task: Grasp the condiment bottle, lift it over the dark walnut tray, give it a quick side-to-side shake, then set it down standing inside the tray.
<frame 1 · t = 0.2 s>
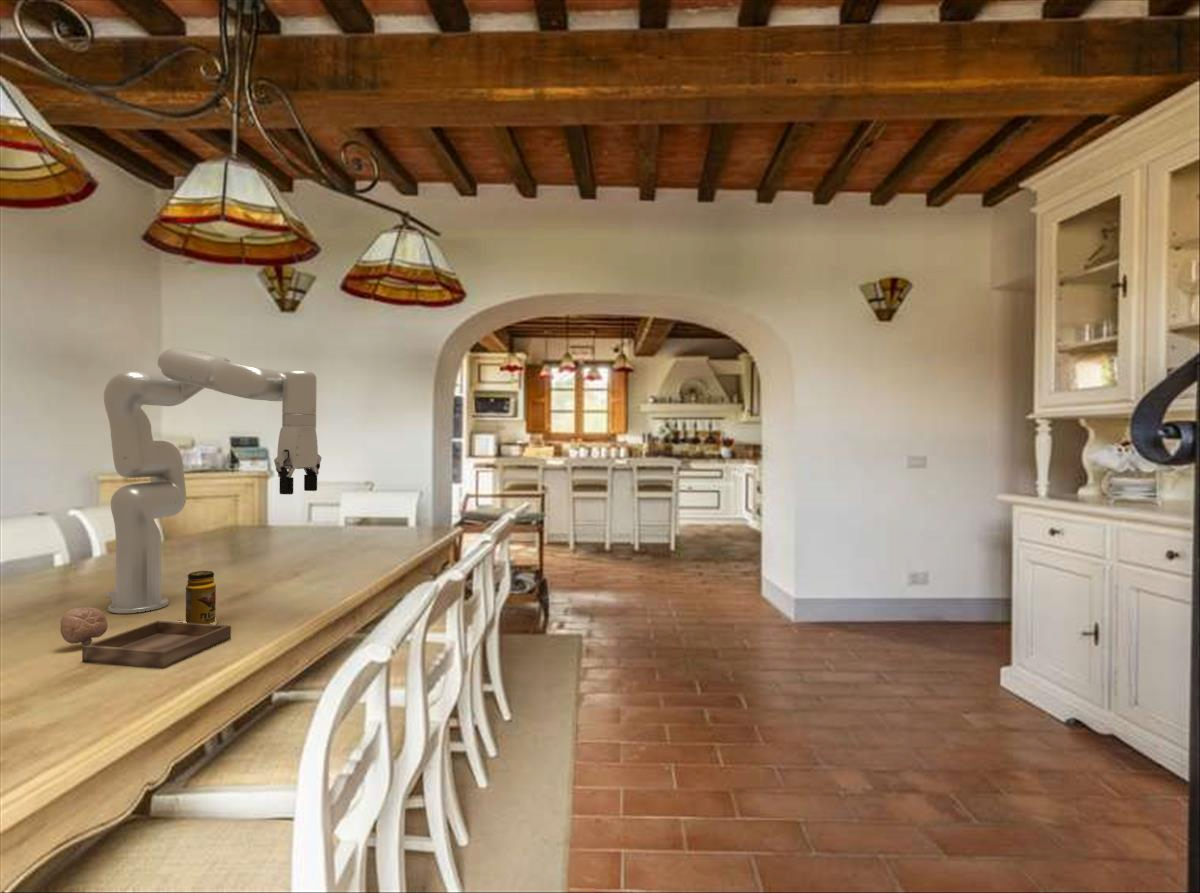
hand: (298, 492, 159), 31 cm above the table, tool pointing down, fingers open, 9 cm apart
tray: (160, 649, 136), on the table
mushroom: (84, 647, 137), on the table
condiment: (196, 624, 155), on the table
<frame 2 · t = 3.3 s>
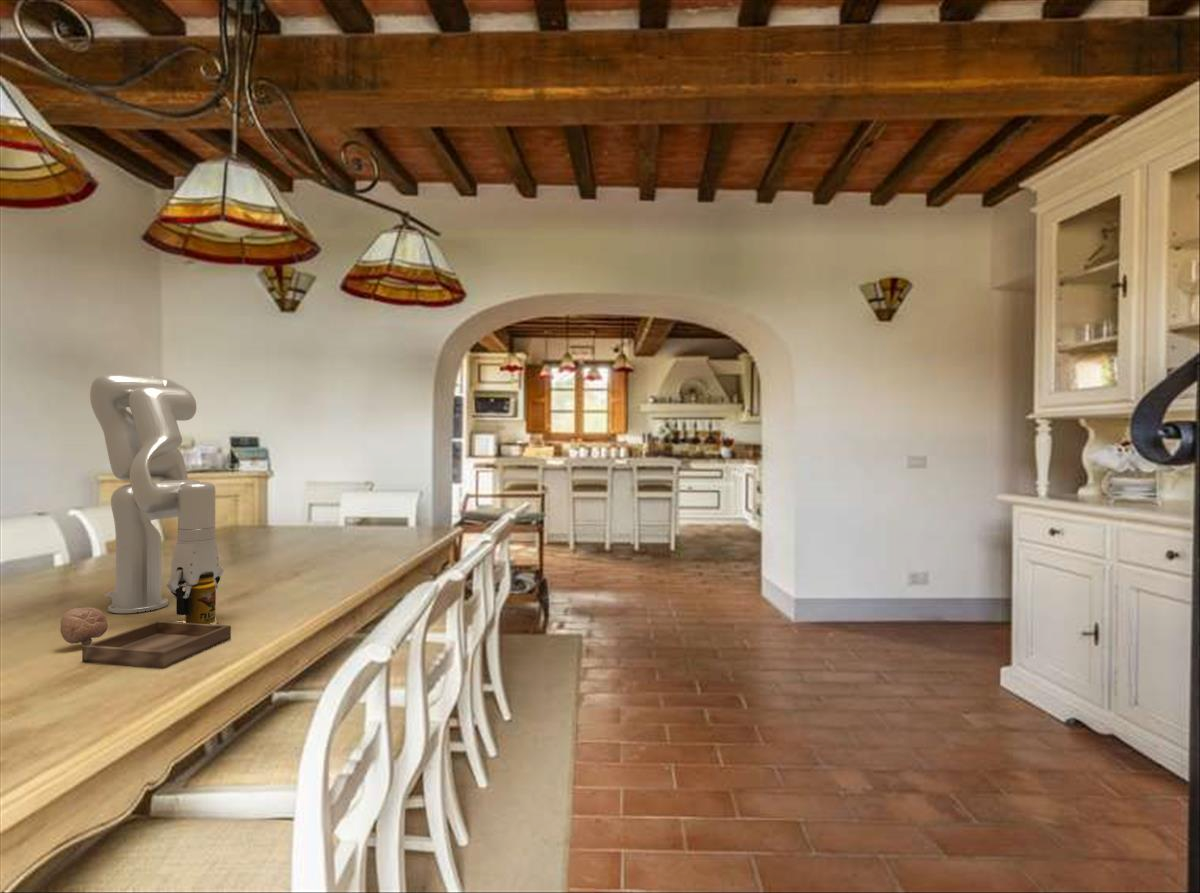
hand: (196, 609, 154), 3 cm above the table, tool pointing down, fingers open, 7 cm apart
condiment: (196, 624, 155), on the table, touching gripper
everything else where it was.
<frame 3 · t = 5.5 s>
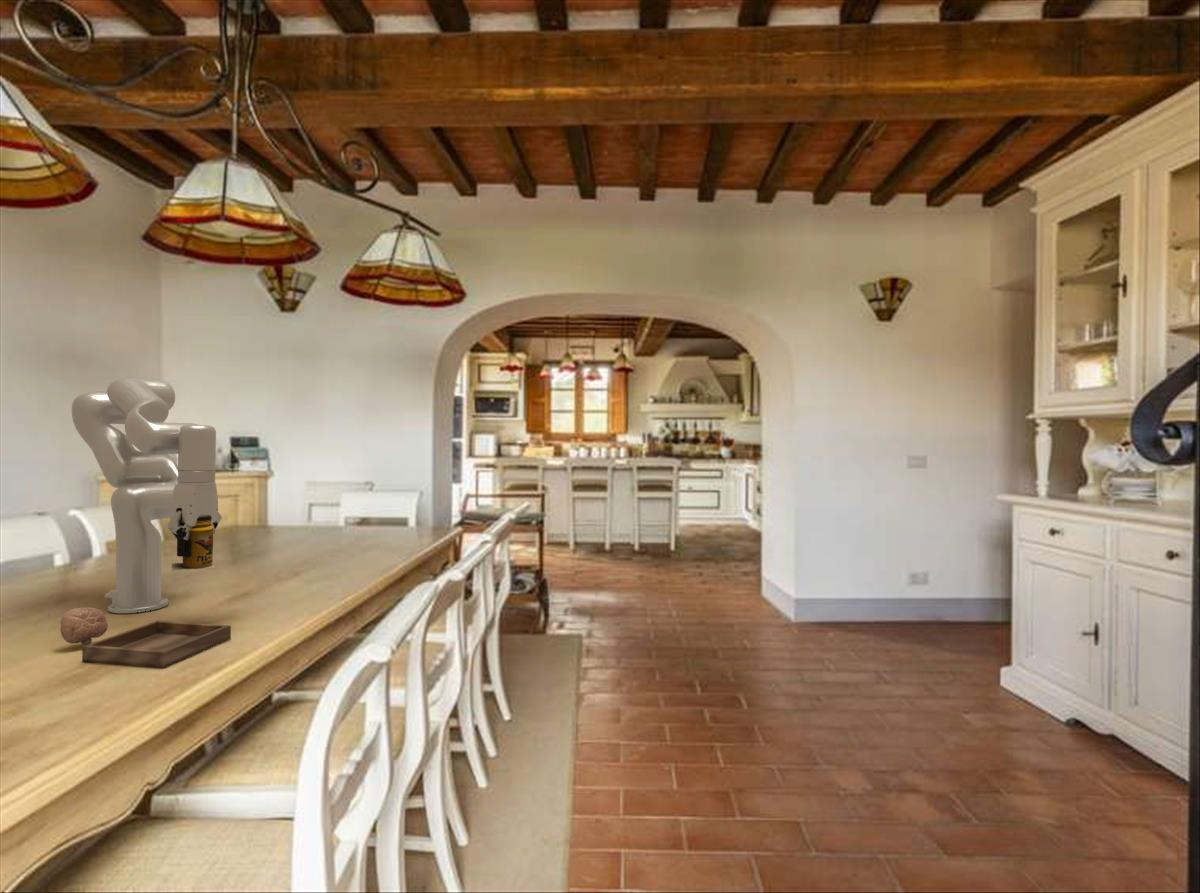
hand: (195, 552, 155), 17 cm above the table, tool pointing down, fingers closed on condiment, 6 cm apart
condiment: (193, 567, 154), point 13 cm above the table, touching gripper
everything else where it was.
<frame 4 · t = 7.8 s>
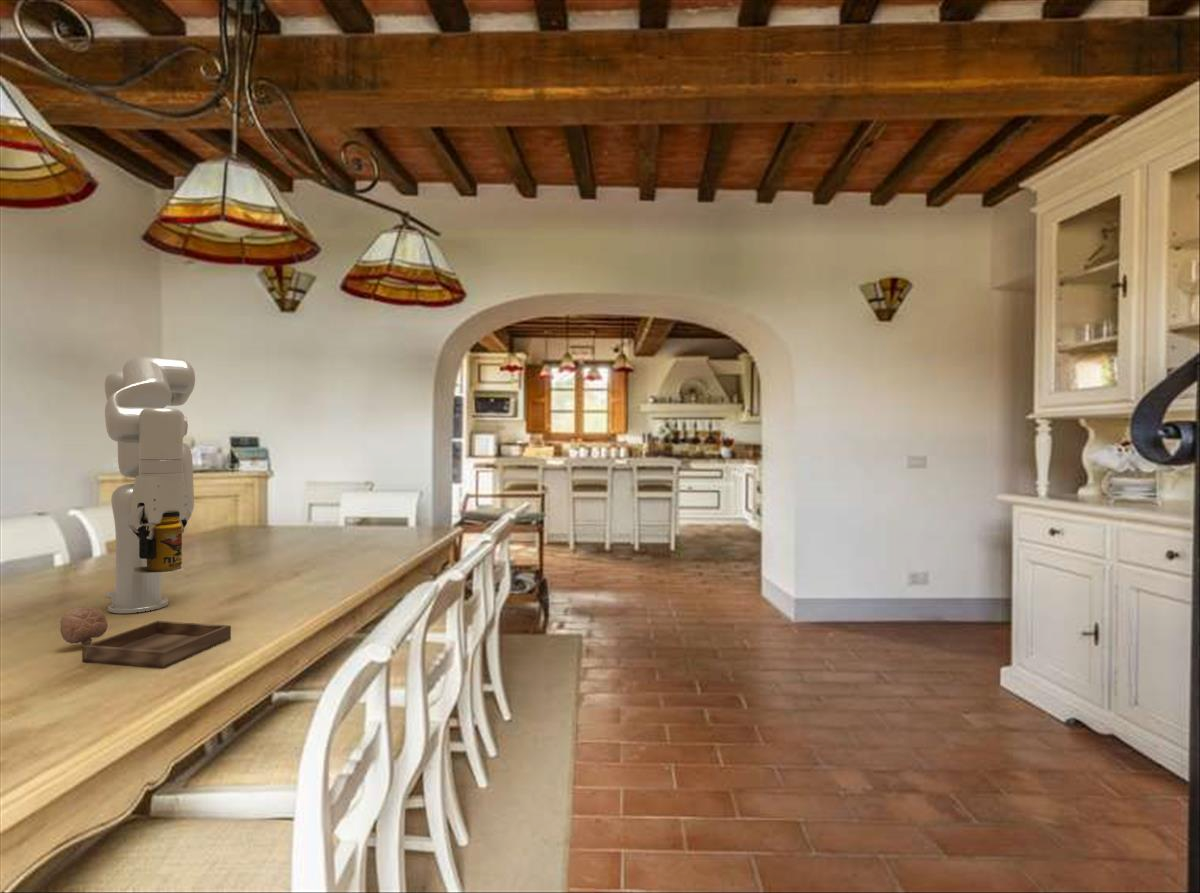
hand: (160, 554, 135), 20 cm above the table, tool pointing down, fingers closed on condiment, 6 cm apart
condiment: (159, 570, 135), point 17 cm above the table, touching gripper
everything else where it was.
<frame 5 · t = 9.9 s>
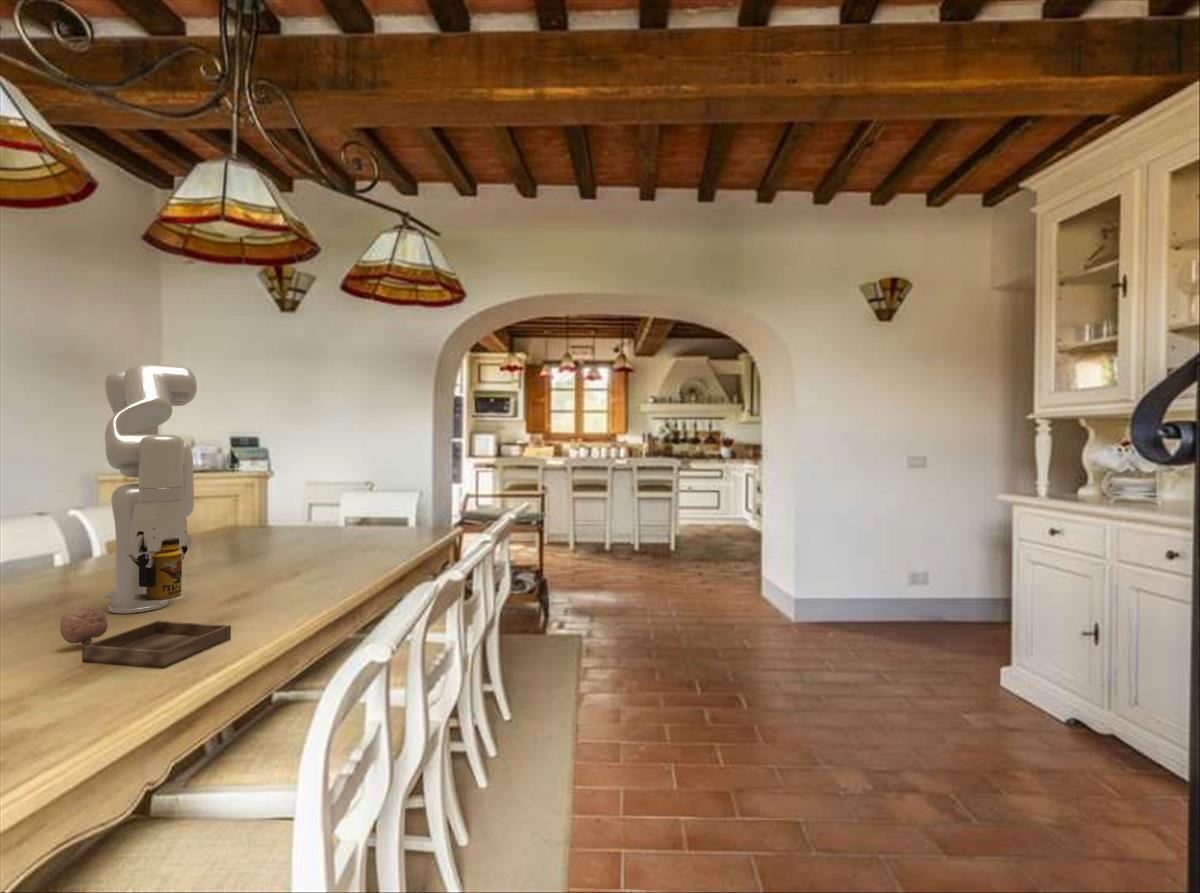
hand: (160, 582, 135), 14 cm above the table, tool pointing down, fingers closed on condiment, 6 cm apart
condiment: (159, 598, 135), point 11 cm above the table, touching gripper
everything else where it was.
when the fingers open (5 cm above the table, at t = 11.9 s): condiment drops 1 cm, resting on tray.
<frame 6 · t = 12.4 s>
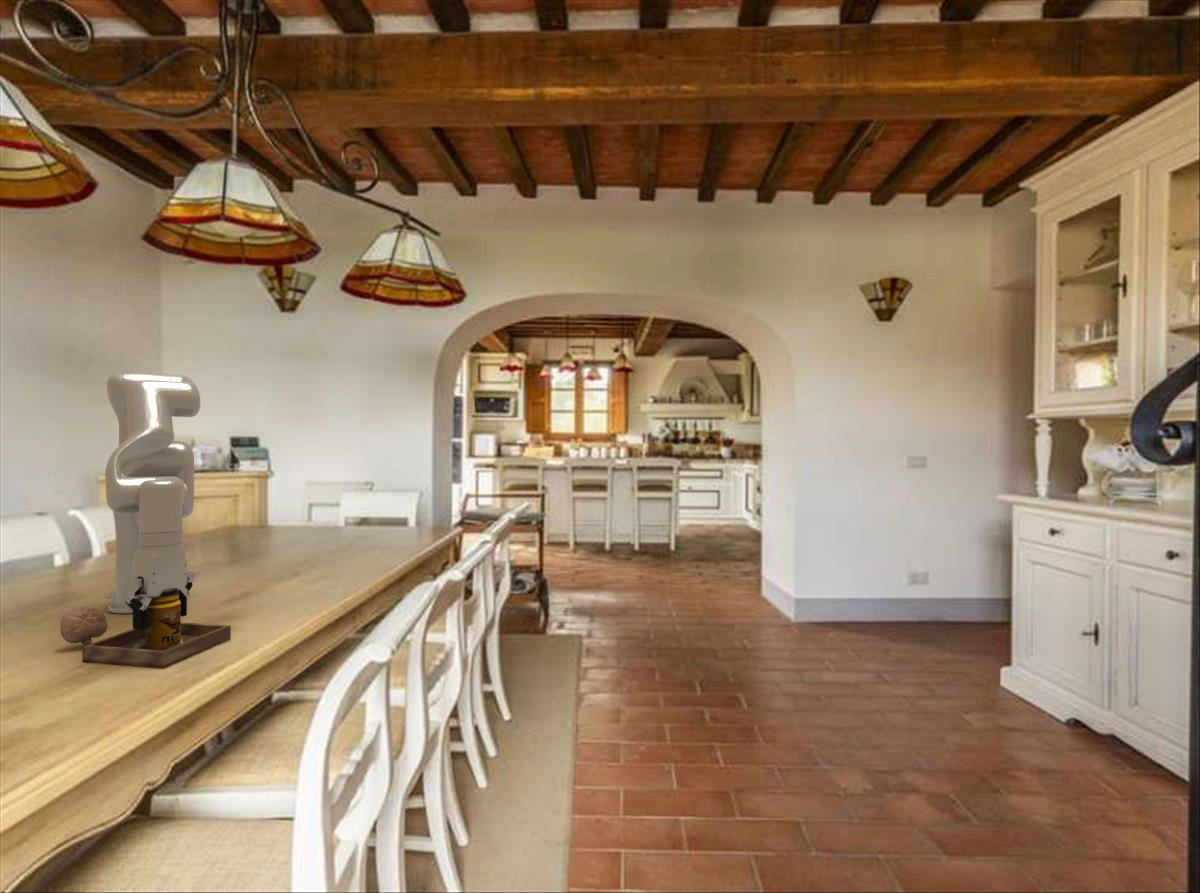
hand: (160, 622, 136), 6 cm above the table, tool pointing down, fingers open, 9 cm apart
condiment: (158, 648, 135), resting on tray
everything else where it was.
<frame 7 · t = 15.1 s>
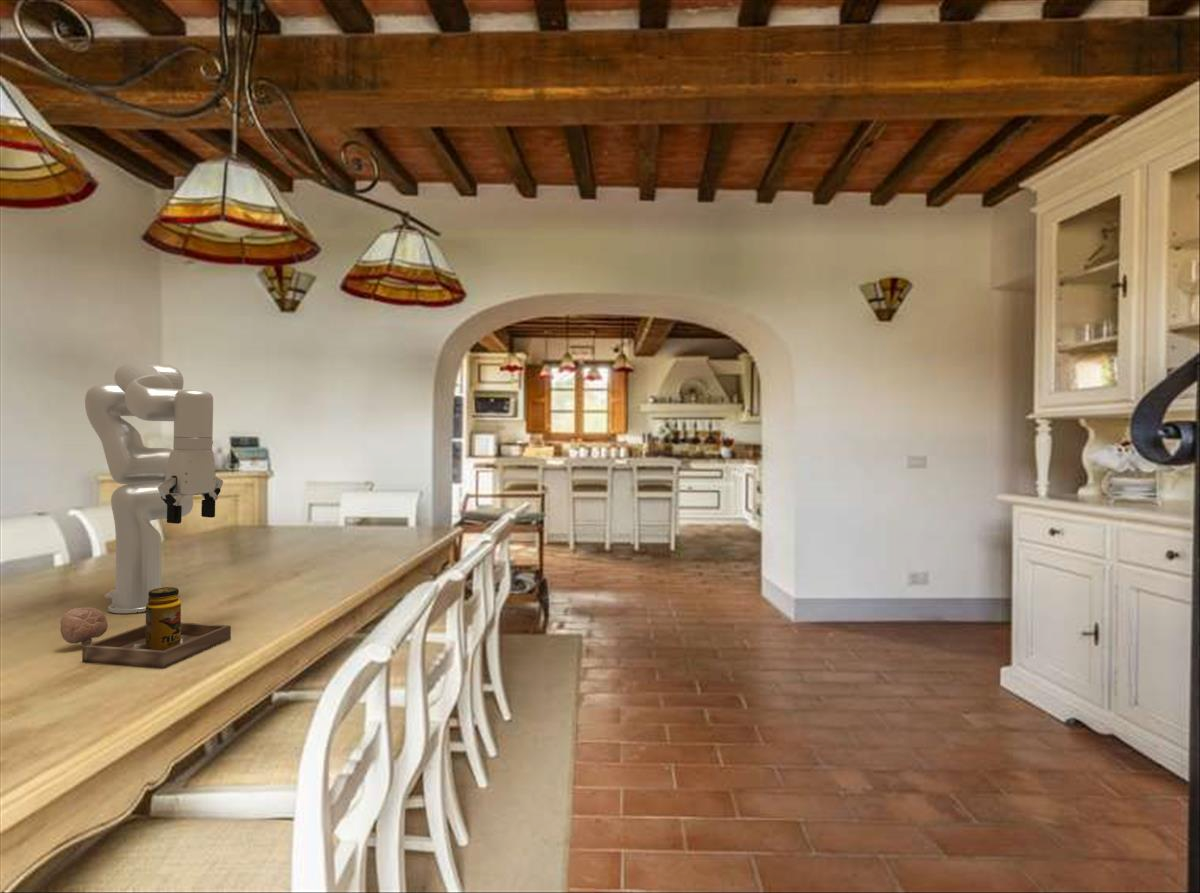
hand: (191, 519, 150), 25 cm above the table, tool pointing down, fingers open, 9 cm apart
nothing on the table moved.
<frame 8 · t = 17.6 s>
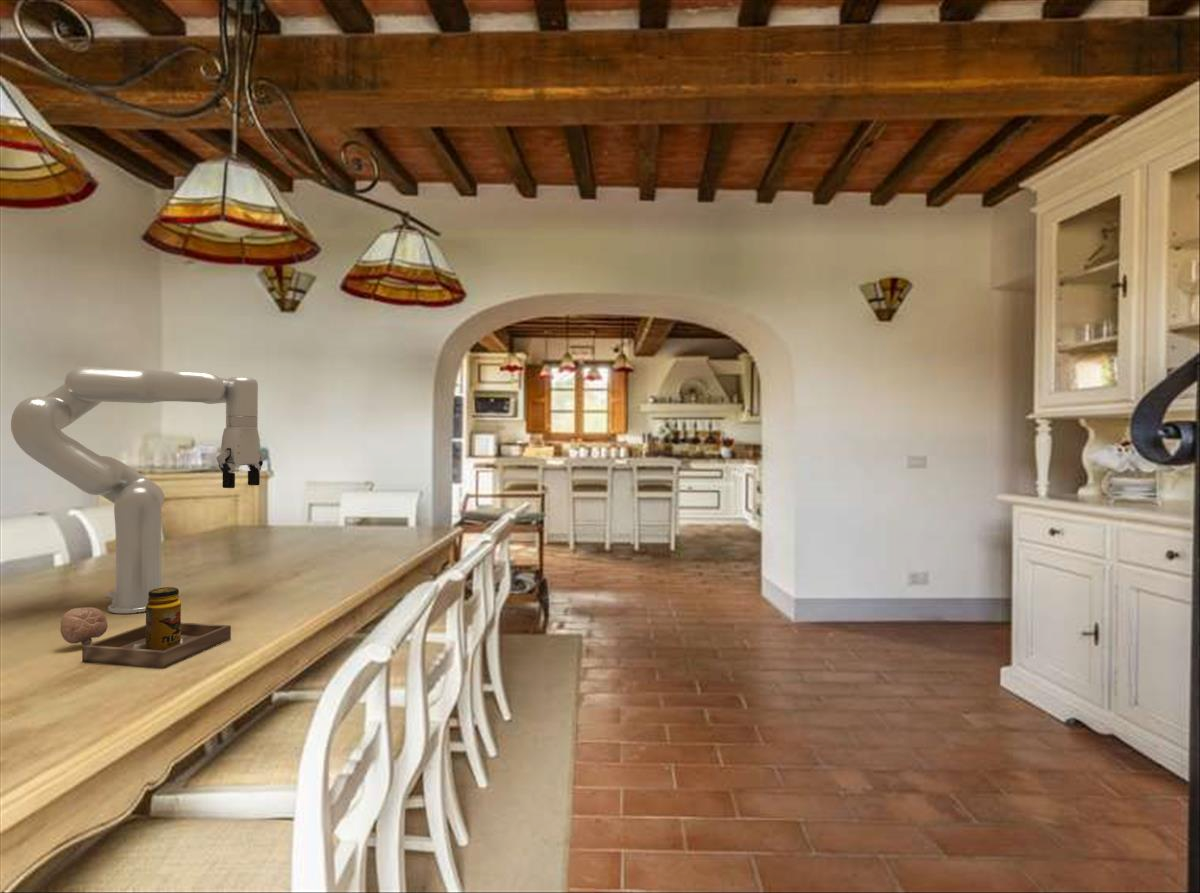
hand: (241, 486, 178), 30 cm above the table, tool pointing down, fingers open, 9 cm apart
nothing on the table moved.
at the end: condiment inside the target area on the tray (0.4 cm from its centre), point 0.4 cm above the tray's base; condiment tilted 0°; the gripper is holding nothing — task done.
